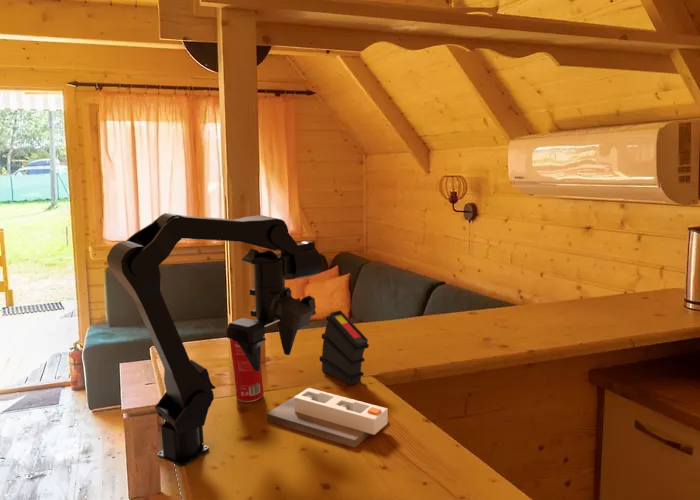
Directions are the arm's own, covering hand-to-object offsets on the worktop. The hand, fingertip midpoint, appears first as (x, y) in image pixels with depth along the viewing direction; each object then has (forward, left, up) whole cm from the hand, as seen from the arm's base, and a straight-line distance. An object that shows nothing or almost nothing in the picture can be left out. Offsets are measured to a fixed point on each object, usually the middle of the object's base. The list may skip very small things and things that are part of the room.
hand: (272, 362), depth 117 cm
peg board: (+5, -9, -12) cm, 16 cm away
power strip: (+5, -12, -10) cm, 17 cm away
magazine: (+24, -1, -12) cm, 27 cm away
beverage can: (+5, +11, -12) cm, 17 cm away
